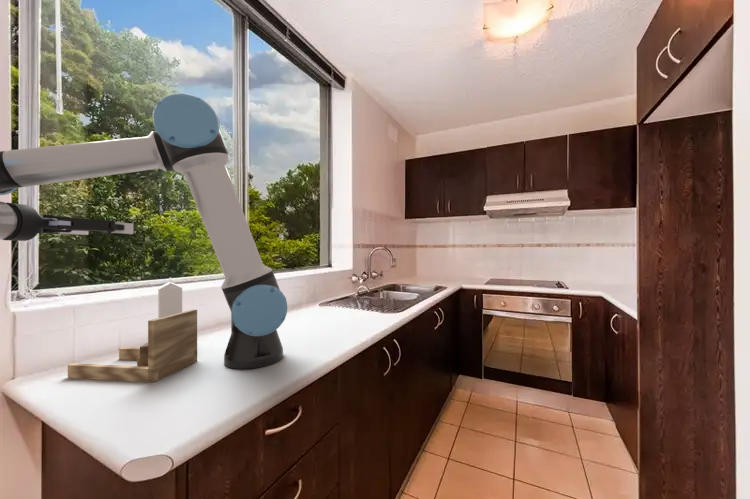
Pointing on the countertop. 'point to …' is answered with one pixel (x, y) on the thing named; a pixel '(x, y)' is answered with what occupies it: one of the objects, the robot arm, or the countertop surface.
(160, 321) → the rack
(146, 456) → the countertop surface
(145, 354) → the offcut
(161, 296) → the milk
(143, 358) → the offcut
